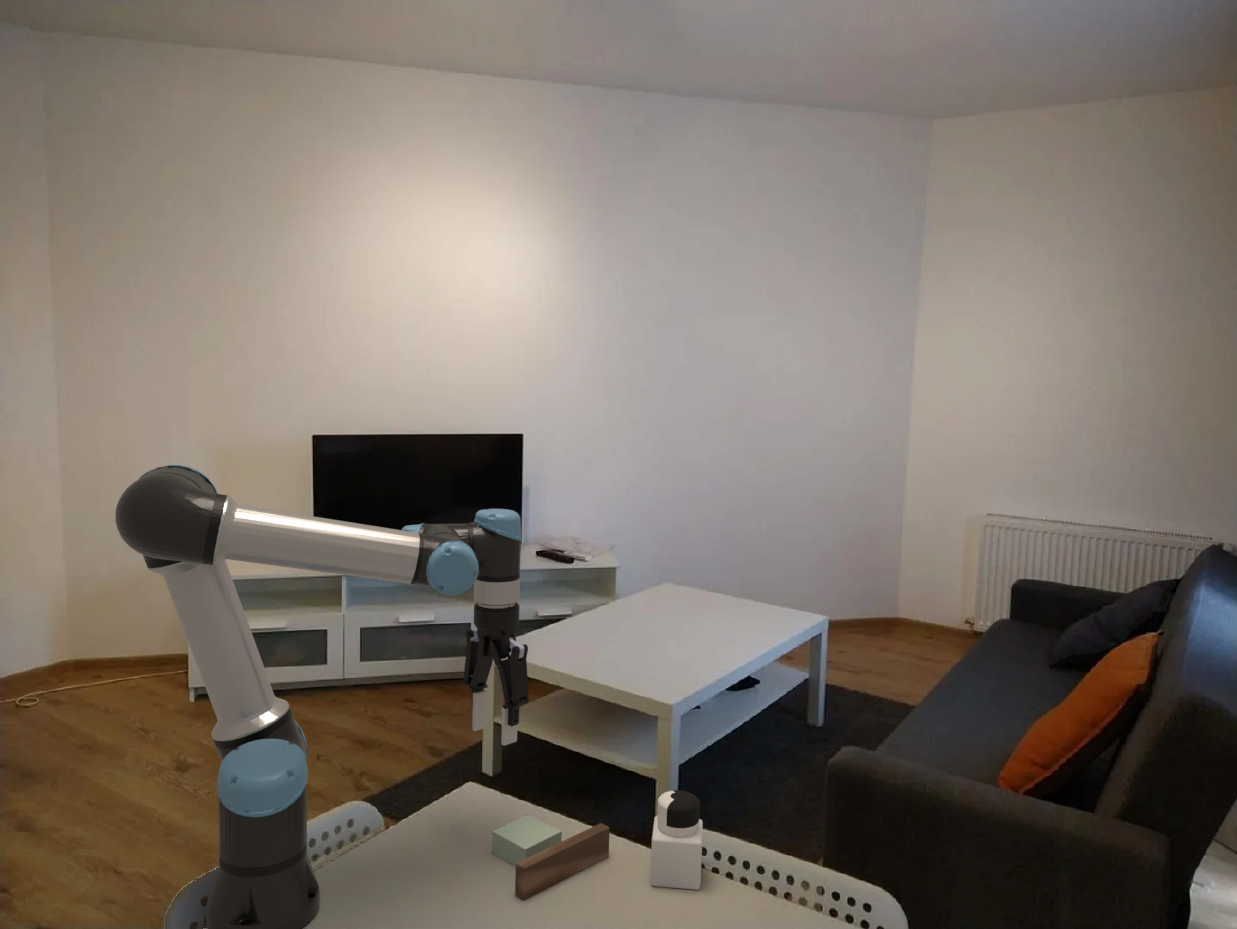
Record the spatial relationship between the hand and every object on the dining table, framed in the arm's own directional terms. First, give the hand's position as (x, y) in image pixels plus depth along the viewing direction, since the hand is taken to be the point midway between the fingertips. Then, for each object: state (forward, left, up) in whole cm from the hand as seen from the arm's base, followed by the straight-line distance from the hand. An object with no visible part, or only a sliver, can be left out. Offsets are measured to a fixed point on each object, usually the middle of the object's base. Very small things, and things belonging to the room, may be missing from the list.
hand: (494, 735), depth 152 cm
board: (+18, 0, -17) cm, 25 cm away
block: (+9, 0, -17) cm, 20 cm away
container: (+30, +13, -17) cm, 37 cm away
